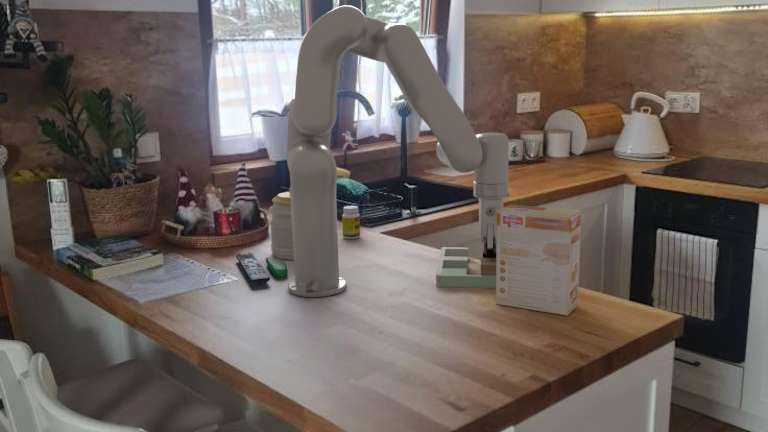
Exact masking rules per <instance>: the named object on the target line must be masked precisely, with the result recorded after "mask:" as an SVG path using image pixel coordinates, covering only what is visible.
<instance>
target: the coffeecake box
mask: <svg viewBox="0 0 768 432" xmlns="http://www.w3.org/2000/svg"><path fill="white" fill-rule="evenodd" d="M581 224H582V210H577V209H566V208H554V207H545V206H543V207H542V206H531V205H519V204H507V205H504V206H503V208H501V209H499V210H497V239H496V241H497V243H496V288H495V305H498V306H499V305H500V306H507V307H514V308H518V309H525V310H532V311H538V312H542V313H549V314H556V315H562V316H566V317H568V316H569V315H570V313H571V312H573V311H574V310H575V309H576V308H578V306H579V288H580V287H579V284H580V282H579V281H580V280H579V279H580V261H581V260H580V253H581V231H582V230H581Z"/></svg>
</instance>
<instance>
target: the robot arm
mask: <svg viewBox="0 0 768 432" xmlns="http://www.w3.org/2000/svg"><path fill="white" fill-rule="evenodd" d="M346 52H347V53H350V54H353V55H356V56H359V57H362V58H366V59H369V60H372V61H377V62H379V63H383V64H385V65H386V67H387V68H388V71H389V72H390V75H392V76H393V78H394V79H393V80H395V82H396V84H397V86H398V88H399V90H400V92H401V93H402V95H403V98H404V99H405V101H406V102H407V104H408V105H409V106H410V108H411V109H412V111H413V112H414V113H415V115H417V116H418V117H419V118H420V119H421V120H423V122H424V123H425V124H426V125H427V127H428V128H429V129H430V131H431V132H432V133H433V135H434V137H435V139H436V140H437V143H436V147H435V152H436V157H438V159H439V160H440V162H441V163H442V164H443V165H445V166H447V167H449V168H451V169H453V170H455V171H456V172H458V173H463V174H466V173H471V172H473V193H472V194H473V197H474V198H477V199H478V221H479V223H478V224H479V234H480V235H479V236H480V242H482V243H483V251H482V258H496V248H497V210H499V209H501V208H504V199H505V198H508V197H509V142H510V141H509V137H508V136H507V135H506V134H505V133H503V132H481V133H475V131H474V129H473V127H472V125H471V124H470V121H469V120H468V118H467V117H466V115H465V114H464V112H463V111H462V109H461V108H460V106H459V104H458V103H457V102H456V100H455V99H454V97H453V95H452V93H451V92H450V91H449V90H448V88H447V86H446V85H445V83H444V81H443V80H442V78H441V77H440V75H439V73H438V71H437V69H436V67H435V65H434V64H433V62H432V60H431V58H430V56H429V54H428V52H427V51H426V48H425V47H424V45H423V43H422V41H421V38H420V37H419V36H418V34H417V33H416V31H415V30H414V29H413V27H411V26H410V25H407V24H405V23H390V22H386V21H383V20H380V19H375V18H372V17H370V16H367V15H365V14H364V13H363V12H362V10H360V9H359V8H357V7H355V6H353V5H346V4H345V5H340V6H338V7H335V8H333V9H331V10H330V11H327V12H326V13H324V14H323V15H321V16H320V17H319V18H317V19H316V20H315V21H314V22H313V24H312V25H311V26H310V27H309V29H308V30H307V31H306V33H305V34H304V37H303V38H302V41H301V43H300V46H299V50H298V54H297V55H298V57H297V63H296V64H297V67H296V75H295V76H296V77H295V90H294V92H295V93H294V96H293V97H292V99H291V101H290V104H289V108H288V120H287V140H286V141H287V143H286V144H287V145H286V162H287V167H288V171H289V179H290V181H289V182H290V186H291V212H292V229H293V250H294V260H293V263H294V264H293V265H294V279H292V280H291V281H290V282H289V283H288V284H287V289H288V292H290V293H291V294H292V295H295V296H298V297H304V298H321V297H329V296H333V295H337V294H340V293H342V292H343V291H344V290H346V289H347V280H345V279H344V278H342V277H340V268H339V266H340V265H339V239H338V238H339V237H338V234H339V233H338V217H337V216H338V213H337V212H338V211H337V209H338V208H337V182H338V181H337V180H338V170H337V169H338V168H337V162H336V159H335V157H334V154H333V153H332V151H331V139H332V137H331V136H332V129H333V127H334V126H335V124H336V121H337V117H338V113H337V112H338V111H337V110H338V108H337V106H338V105H337V104H338V101H337V99H338V83H339V82H338V80H339V72H340V71H339V70H340V64H341V62H342V58H343V57H344V55H345V53H346Z"/></svg>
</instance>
